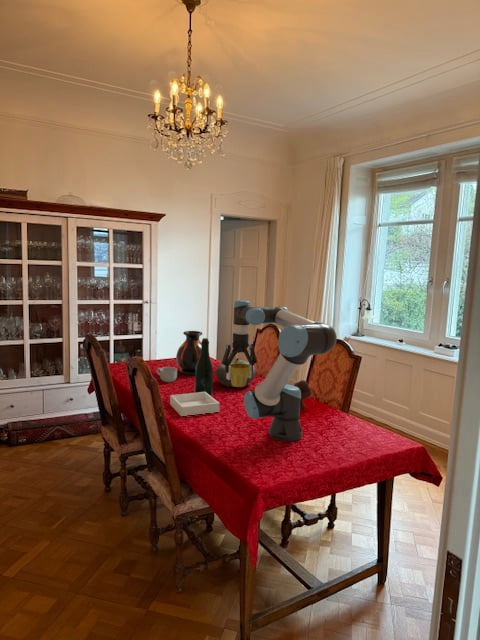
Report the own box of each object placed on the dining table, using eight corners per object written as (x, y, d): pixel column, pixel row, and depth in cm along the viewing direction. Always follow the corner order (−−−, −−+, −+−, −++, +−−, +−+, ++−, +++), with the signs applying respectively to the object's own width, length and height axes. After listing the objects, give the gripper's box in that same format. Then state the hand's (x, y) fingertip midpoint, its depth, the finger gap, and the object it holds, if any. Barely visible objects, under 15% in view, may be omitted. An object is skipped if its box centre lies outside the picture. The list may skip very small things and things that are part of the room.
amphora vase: (180, 367, 314) (181, 328, 310) (210, 369, 311) (211, 330, 307) (171, 375, 293) (172, 333, 289) (203, 377, 290) (205, 335, 286)
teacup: (180, 380, 281) (180, 368, 280) (168, 384, 272) (169, 372, 271) (163, 377, 288) (164, 365, 287) (152, 380, 279) (152, 368, 278)
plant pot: (232, 389, 206) (233, 368, 204) (224, 383, 215) (225, 363, 214) (252, 387, 210) (253, 367, 209) (243, 381, 219) (244, 362, 218)
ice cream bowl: (314, 406, 242) (316, 380, 240) (302, 411, 234) (304, 383, 232) (298, 401, 250) (300, 376, 247) (286, 406, 241) (288, 379, 239)
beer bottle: (201, 398, 248) (203, 340, 243) (190, 393, 255) (192, 337, 251) (216, 395, 255) (218, 339, 250) (205, 390, 262) (207, 336, 258)
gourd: (264, 383, 274) (260, 356, 272) (231, 395, 261) (226, 367, 259) (242, 377, 295) (238, 352, 293) (210, 388, 282) (206, 362, 279)
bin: (219, 412, 227) (219, 403, 226) (182, 417, 218) (182, 407, 218) (205, 400, 245) (205, 391, 244) (170, 404, 236) (170, 395, 235)
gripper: (258, 330, 217) (256, 374, 220) (215, 332, 207) (213, 378, 210) (265, 333, 211) (263, 378, 214) (221, 335, 201) (219, 382, 204)
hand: (238, 378), depth 212 cm, fingers closed on plant pot, 10 cm apart
